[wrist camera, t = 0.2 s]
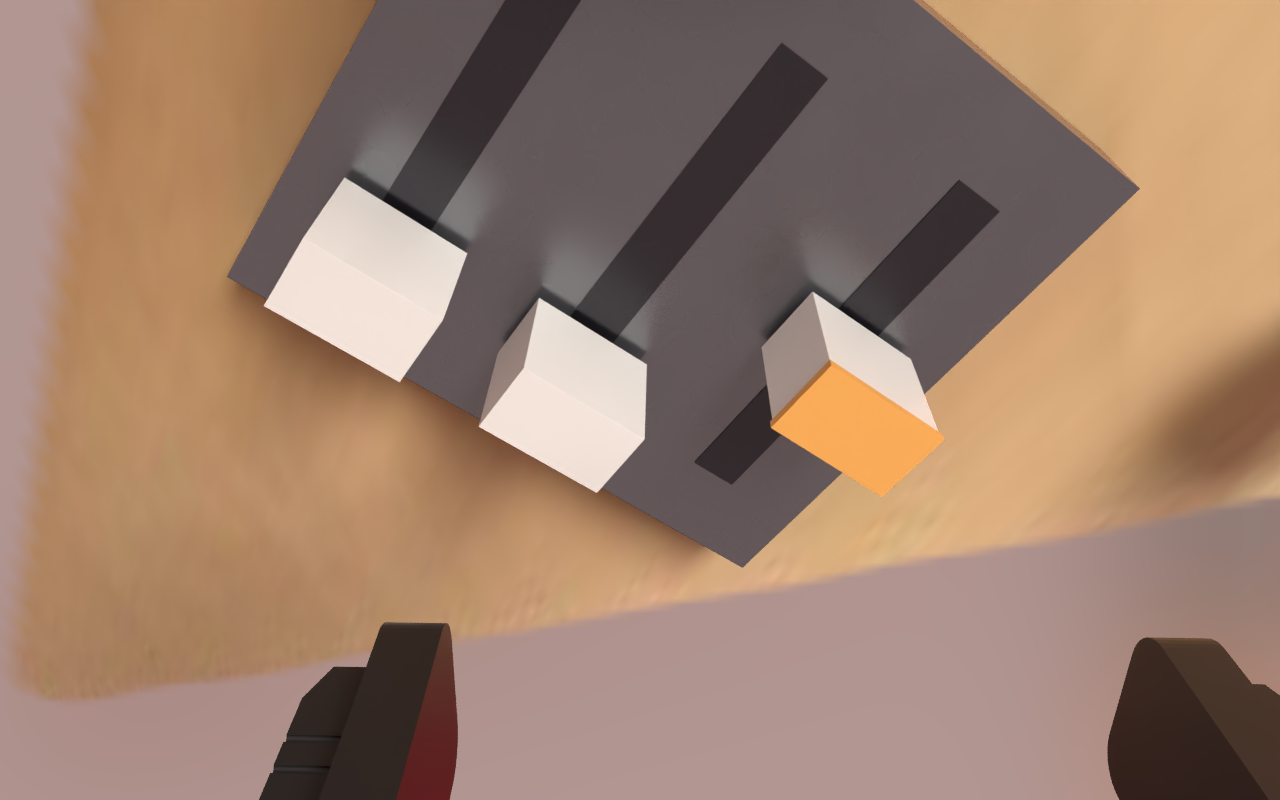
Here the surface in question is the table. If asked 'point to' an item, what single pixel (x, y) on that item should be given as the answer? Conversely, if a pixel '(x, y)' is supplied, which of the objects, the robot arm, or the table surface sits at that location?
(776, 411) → the block
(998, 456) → the table surface
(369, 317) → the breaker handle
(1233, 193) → the table surface
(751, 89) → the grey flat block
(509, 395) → the handle
